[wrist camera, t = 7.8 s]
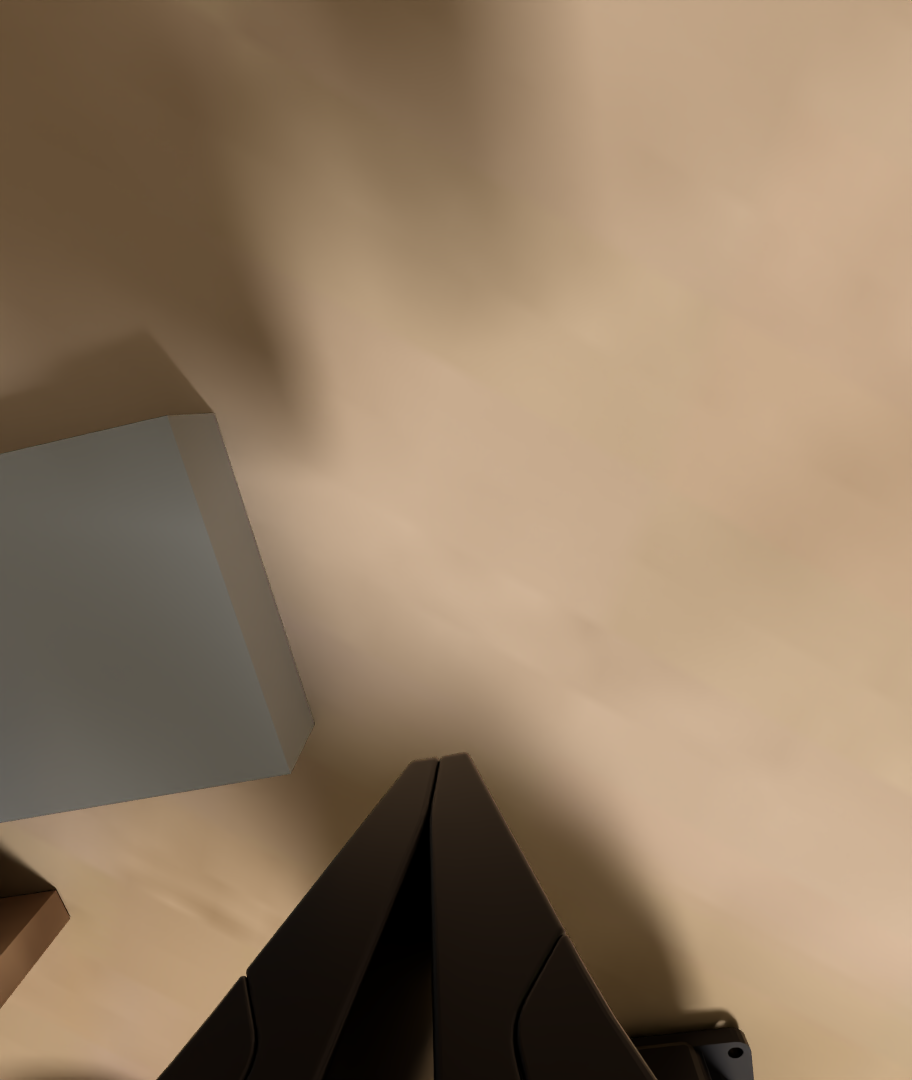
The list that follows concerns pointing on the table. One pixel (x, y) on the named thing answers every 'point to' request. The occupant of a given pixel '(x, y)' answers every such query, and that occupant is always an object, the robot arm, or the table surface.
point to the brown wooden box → (26, 934)
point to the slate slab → (136, 624)
